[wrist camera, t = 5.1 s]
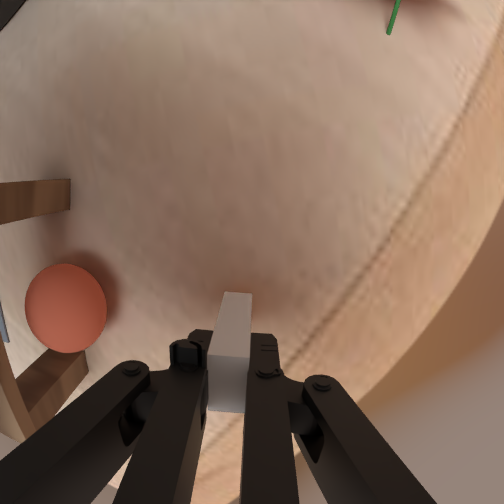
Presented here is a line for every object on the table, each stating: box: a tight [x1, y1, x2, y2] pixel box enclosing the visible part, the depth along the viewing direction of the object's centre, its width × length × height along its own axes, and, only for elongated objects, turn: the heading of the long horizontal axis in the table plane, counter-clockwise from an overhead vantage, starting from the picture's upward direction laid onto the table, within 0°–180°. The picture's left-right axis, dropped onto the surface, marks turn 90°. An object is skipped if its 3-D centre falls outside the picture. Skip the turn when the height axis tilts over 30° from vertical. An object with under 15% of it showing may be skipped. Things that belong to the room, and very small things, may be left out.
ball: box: [25, 264, 107, 353], centre depth 16 cm, size 6×6×6 cm
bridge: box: [0, 179, 88, 443], centre depth 14 cm, size 3×14×9 cm, turn 176°
